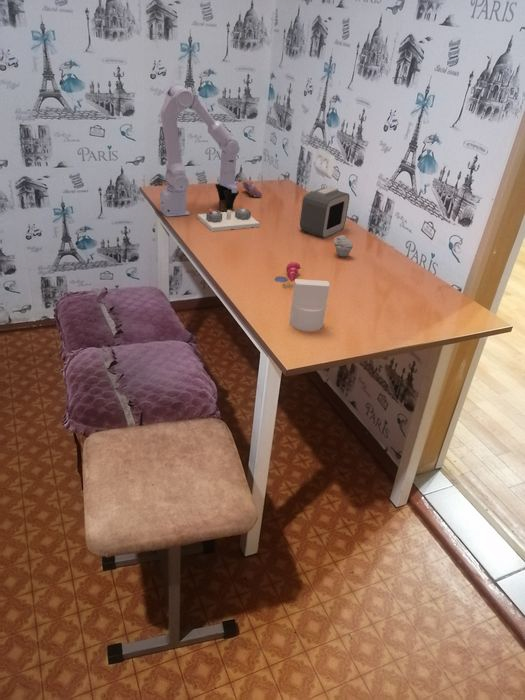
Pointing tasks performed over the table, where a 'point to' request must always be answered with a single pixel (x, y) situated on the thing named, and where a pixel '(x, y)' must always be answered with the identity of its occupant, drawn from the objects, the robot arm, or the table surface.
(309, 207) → the alarm clock
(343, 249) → the grey muffin
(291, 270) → the toy pieces
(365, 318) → the table surface
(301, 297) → the cylinder with rectangular tab
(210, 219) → the gear board
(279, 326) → the table surface
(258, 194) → the pink irregular piece
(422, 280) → the table surface
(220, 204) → the walnut gear
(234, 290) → the table surface
